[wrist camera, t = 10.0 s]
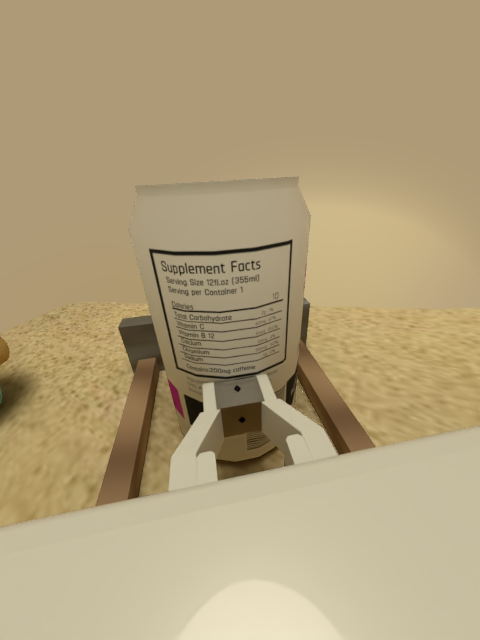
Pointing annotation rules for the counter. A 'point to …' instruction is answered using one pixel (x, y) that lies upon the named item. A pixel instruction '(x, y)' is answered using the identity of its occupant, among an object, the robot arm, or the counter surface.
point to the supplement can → (224, 287)
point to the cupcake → (3, 356)
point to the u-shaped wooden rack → (139, 405)
